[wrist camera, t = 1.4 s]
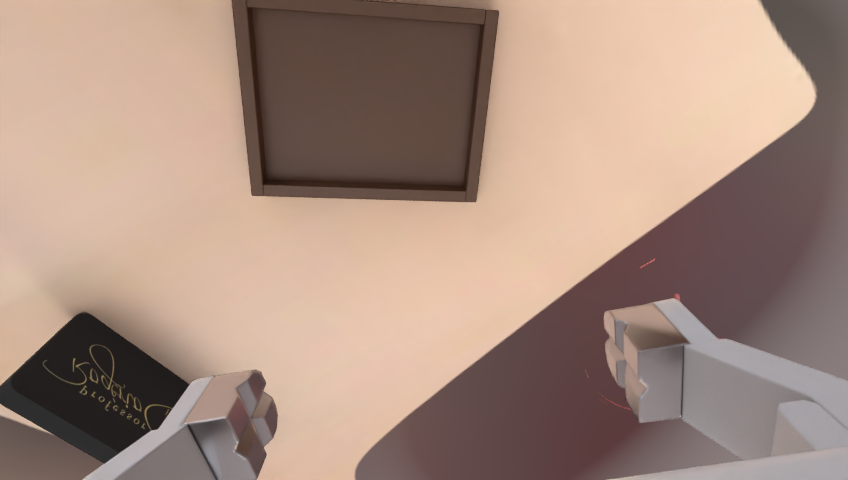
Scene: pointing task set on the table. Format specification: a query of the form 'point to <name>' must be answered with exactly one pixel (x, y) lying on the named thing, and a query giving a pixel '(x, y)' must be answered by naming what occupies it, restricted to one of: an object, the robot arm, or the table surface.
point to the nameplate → (93, 389)
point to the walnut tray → (364, 97)
